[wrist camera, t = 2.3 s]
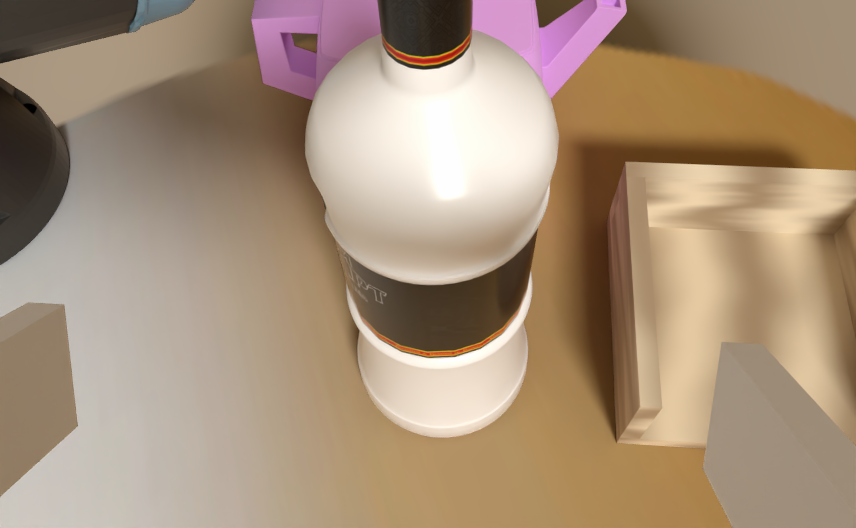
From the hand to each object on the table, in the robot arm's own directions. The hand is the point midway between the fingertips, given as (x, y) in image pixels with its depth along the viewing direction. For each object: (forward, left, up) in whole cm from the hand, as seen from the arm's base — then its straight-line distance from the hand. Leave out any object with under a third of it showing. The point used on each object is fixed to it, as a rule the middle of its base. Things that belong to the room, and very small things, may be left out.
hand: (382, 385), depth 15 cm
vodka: (0, +11, -26) cm, 28 cm away
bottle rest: (+16, +14, -26) cm, 33 cm away
